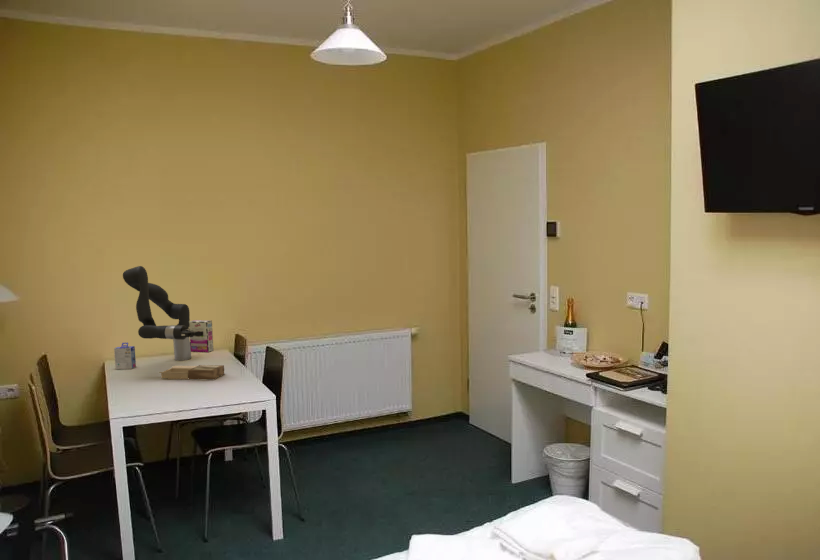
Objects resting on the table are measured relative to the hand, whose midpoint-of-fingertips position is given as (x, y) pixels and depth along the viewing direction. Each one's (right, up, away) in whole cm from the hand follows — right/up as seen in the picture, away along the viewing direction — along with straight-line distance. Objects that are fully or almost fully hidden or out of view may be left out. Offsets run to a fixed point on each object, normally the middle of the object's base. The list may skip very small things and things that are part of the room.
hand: (205, 332), depth 340 cm
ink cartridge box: (-54, -23, +29) cm, 66 cm away
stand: (0, -24, +3) cm, 24 cm away
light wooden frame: (-16, -24, +6) cm, 29 cm away
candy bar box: (-2, -10, +2) cm, 11 cm away
